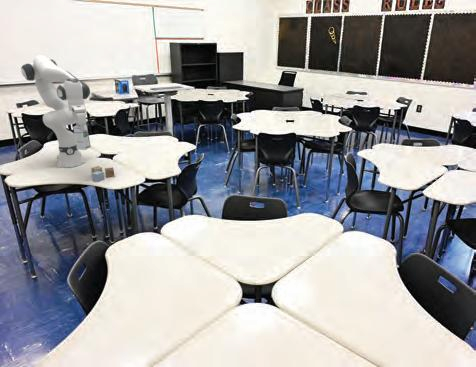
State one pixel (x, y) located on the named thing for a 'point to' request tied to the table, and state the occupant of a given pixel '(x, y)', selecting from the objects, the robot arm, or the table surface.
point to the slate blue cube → (98, 176)
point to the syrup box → (82, 138)
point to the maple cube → (96, 169)
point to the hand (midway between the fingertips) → (80, 130)
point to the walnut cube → (109, 172)
